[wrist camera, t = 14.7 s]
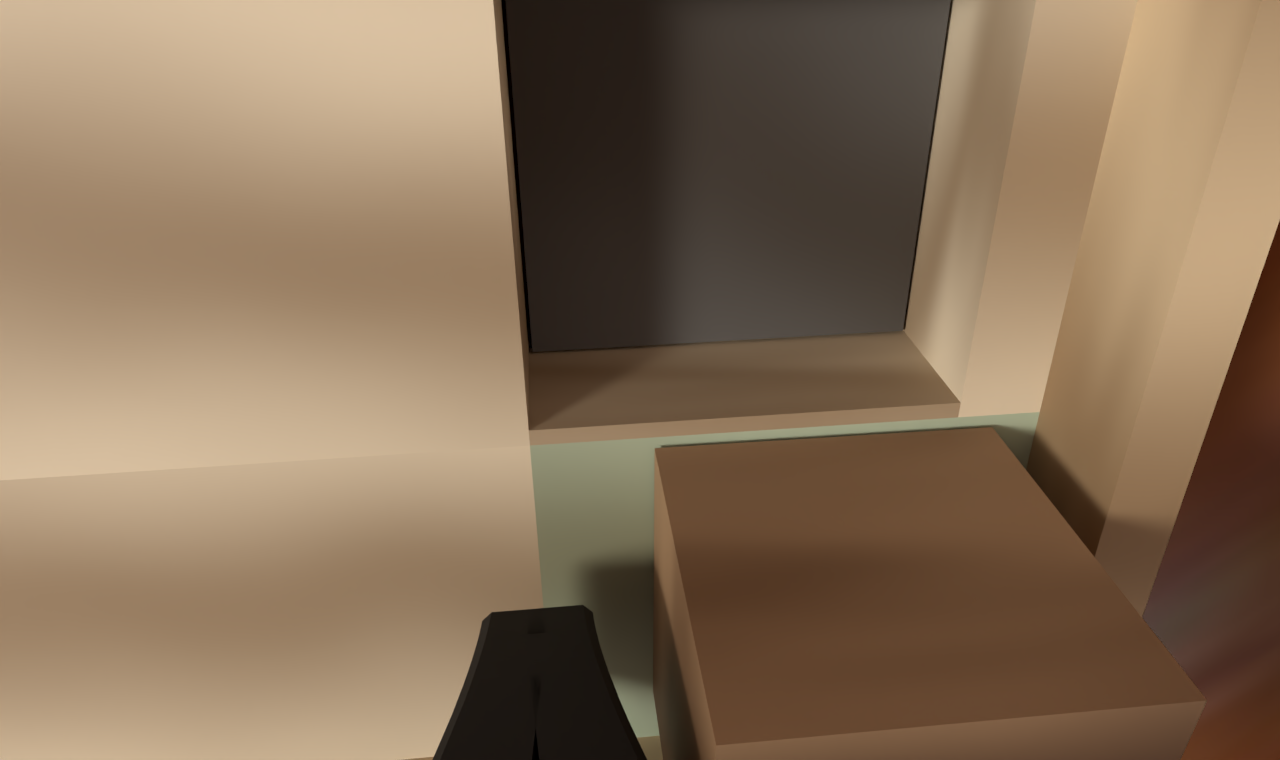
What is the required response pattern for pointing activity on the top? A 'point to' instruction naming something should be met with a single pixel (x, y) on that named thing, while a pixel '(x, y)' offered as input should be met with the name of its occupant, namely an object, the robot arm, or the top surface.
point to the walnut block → (893, 611)
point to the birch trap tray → (560, 315)
